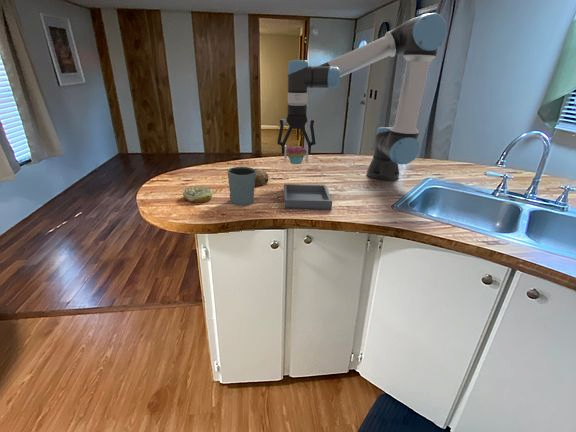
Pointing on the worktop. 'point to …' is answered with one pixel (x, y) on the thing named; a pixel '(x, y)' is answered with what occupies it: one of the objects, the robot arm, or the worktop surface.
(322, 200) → the serving tray
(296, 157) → the cupcake
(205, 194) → the decorated donut
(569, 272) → the worktop surface
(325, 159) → the worktop surface
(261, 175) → the bread roll
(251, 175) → the grey cup
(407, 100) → the robot arm
